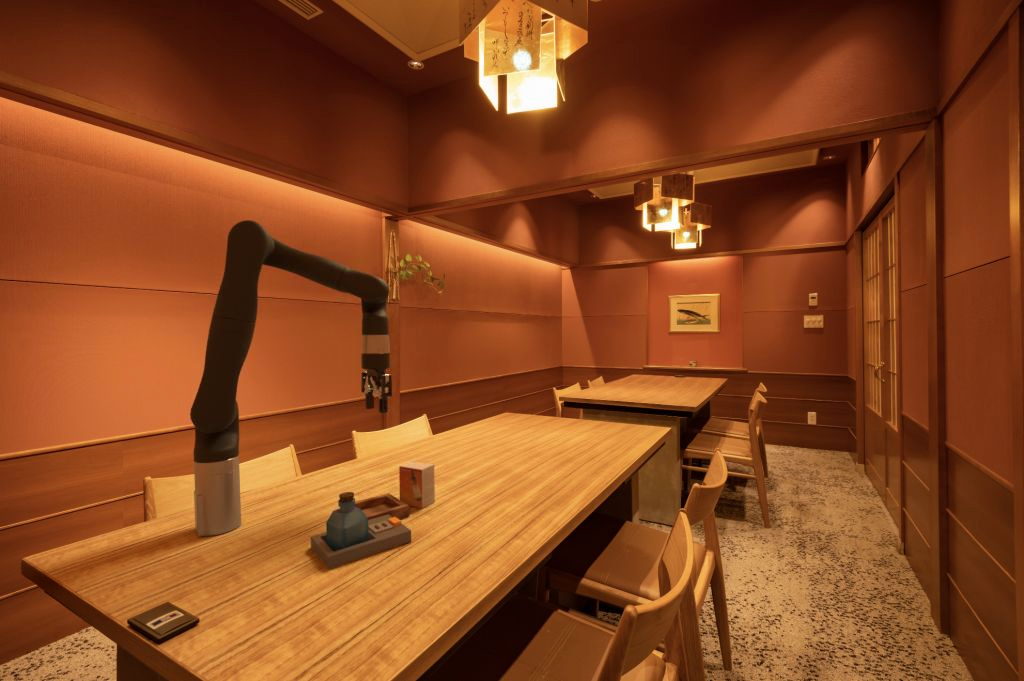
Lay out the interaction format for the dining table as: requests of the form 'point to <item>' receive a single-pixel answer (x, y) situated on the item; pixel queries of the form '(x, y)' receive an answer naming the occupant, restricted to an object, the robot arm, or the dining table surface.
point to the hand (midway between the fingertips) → (376, 410)
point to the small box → (417, 484)
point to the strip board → (381, 538)
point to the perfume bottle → (346, 524)
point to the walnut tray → (383, 507)
